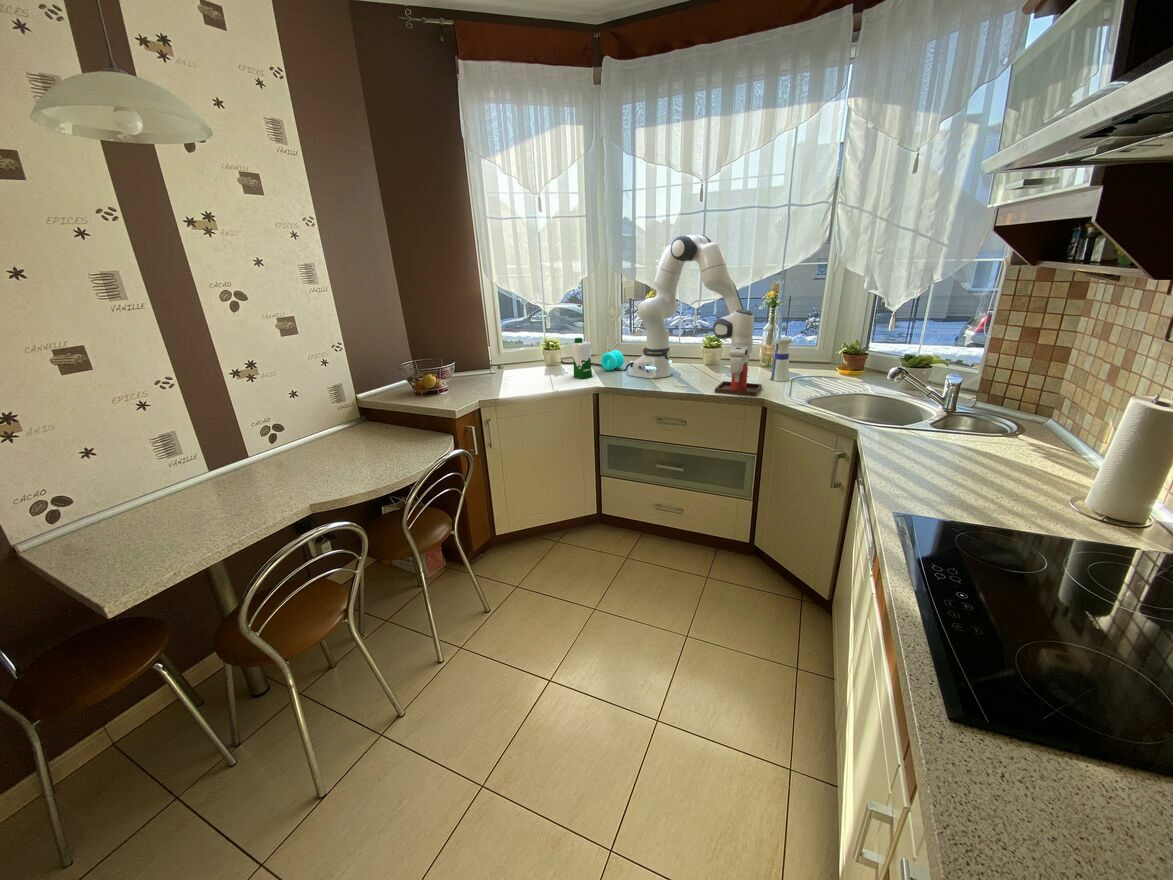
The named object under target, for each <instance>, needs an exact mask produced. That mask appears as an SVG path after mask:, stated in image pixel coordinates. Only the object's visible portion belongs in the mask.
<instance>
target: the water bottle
mask: <svg viewBox="0 0 1173 880" xmlns="http://www.w3.org/2000/svg"><path fill="white" fill-rule="evenodd" d="M787 329H788V327H787V326H786V325H783V327H780V330H781V333H783V332H785V333H787ZM791 344H793V339H792V338H791V337H783V338H782V339H778V338H776V337H775V338H774V340H773V342H772V345H775V349H774V351H773V352H774V356H773V357H774V358H773V359H772V360H773V361H772V368H771V375H770V380H771V381H773V382H787V381H789V369H790V359H789V358H790V353H791V350H790V345H791Z"/></svg>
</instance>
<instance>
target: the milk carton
mask: <svg viewBox="0 0 1173 880" xmlns="http://www.w3.org/2000/svg"><path fill="white" fill-rule="evenodd" d="M592 344H593V343H592V342H590V341H585V340H583V337H575V338H574V342H571V343H570V346H571V350H572V360H573V361H572V362H573V363H574V364H573V378H575V379H580V380H584V379H589V378H592V377H593V371H592V365H591V363H592V356H591V355H592V354H591V353H592V352H591V349H592Z"/></svg>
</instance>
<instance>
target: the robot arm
mask: <svg viewBox="0 0 1173 880" xmlns="http://www.w3.org/2000/svg"><path fill="white" fill-rule="evenodd" d="M686 262H696V263H697V264H698V267H699V272H700V277H701V281H702V283H703V285H704V287H705V288H707V289H708V290H709V291H712V292H715V293H717V294H719V295H720V296H722V298H723V299H724V301H725V304H726V306H727V309H728V312H729V314H728V315H725V316H722V317H718V318H716V320H715V321H714V322H713V325H712V333H713V334H714V336H715V337H716V338H717V339H718V340H727V339H730V340H731V342H730V343H731V344H730V349H729V352H728V354H729V355H728V356H730V359H729V368H730V369H729V370H730V371H729V372H730V374H731V375H732V374H734V376H735V382H739V381H740V372H742V371H743V366H744V364H745V363H747V366H749V364H750V354H752V353H753V345H754V343H753V342H754V340H753V334H754V331H755V316H754V314H753V312H752V311H751V310H748V309H744V307H743V303H742V300H741V297H740V294H739V292H738V291H739V290H738V289H737V285H736V284H735V282H734V281H733V280H732V277H731V276H730V273H729V271H728V268H727V263H726V259H725V256H724V254H723V250H722V249H721V247H720V245H719V244H718V243H717V242H713V241H712V240H711V238H709V237H708V236H706V235H703V234H701V235H699V234H682V235H679V236H676V237H675V238H674V239H673V240H672V242H671V244H670V245H668V246H666V248H665V250H664V252H663V254H662V256H661V259H660V261H659V265H658V267H657V271H656V274H655V278H654V280H653V281H654V286H655V287H656V288H655V289H656V291H655V292H656V294H655V296H654V297H650V298H649V297H648V298H646V299H644V300H643V301H641V302H640V303H639V304H638V306H637V315H638V317H639V319H640V320H641V321H642V322H643V325H644V328H645V332H646V347H645V348H643V349H642V353H643V354H642V355H640V357H638V358H637V359H636V360H634V361H631V362H630V363H627V365H626V366H625V368H624V369H620V368H615V369H613V370H612V371H615V372H625V371H627V370H628V368H629V367H630V368H632V369H631V370H629V371H628V373H627V376H630V377H636V378H643V379H651V380H652V379H658V378H659V379H662V378H668V377H670V376H672V371H671V368H670V367H671V366H670V364H671V363H672V360H670V355H671V354H670V353H671V352H670V332H669V330H668V328H666V326H665V321H664V319H667V318H670V317H672V316H673V315H675V314H676V313H677V311H678V309H679V303H678V300H677V297H676V296H677V288H678V285H679V281H680V278H681V275H682V272H683V267H684V265H685V263H686ZM560 363H561V364H564V365H574V363H573V361H572V362H569V361H568V362H567V361H563V360H561V362H560ZM592 365H593V366H599V367H602V368H603V366H602V364H601V363H595V362H591V366H592Z"/></svg>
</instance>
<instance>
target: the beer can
mask: <svg viewBox="0 0 1173 880" xmlns="http://www.w3.org/2000/svg"><path fill="white" fill-rule="evenodd" d="M748 366H749V365H748ZM748 366H747V363H745V364H744V366H743V371H742V372H740V381H739V382H735V376H734V374H731V380H730V382H731V389H732V390H743V391H744V390H746V385H747V383H748V373H749V372H748V371H749V367H748Z"/></svg>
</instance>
